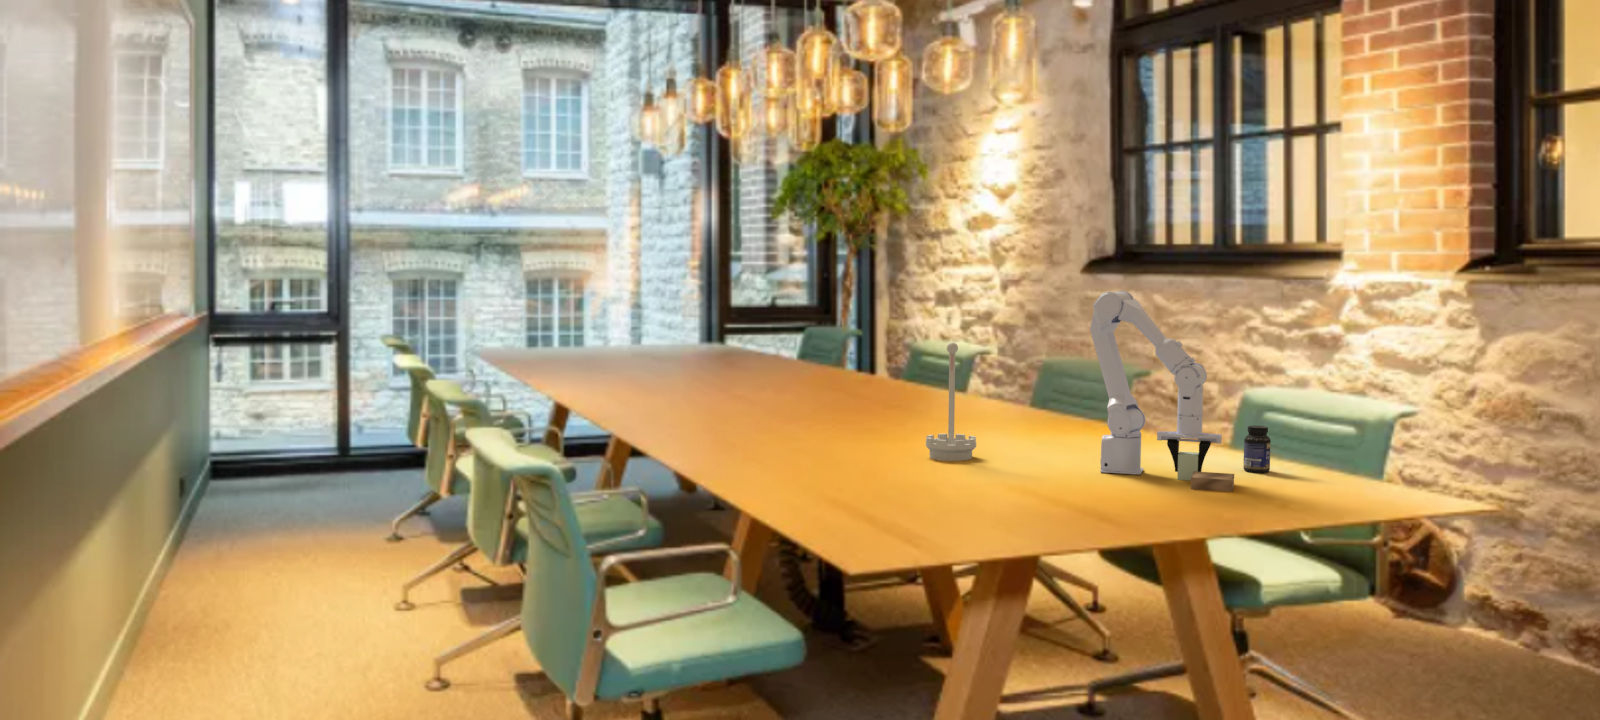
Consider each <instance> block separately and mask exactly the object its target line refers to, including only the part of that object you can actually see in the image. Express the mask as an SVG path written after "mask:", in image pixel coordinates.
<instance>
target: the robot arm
mask: <svg viewBox="0 0 1600 720" xmlns="http://www.w3.org/2000/svg"><path fill="white" fill-rule="evenodd" d="M1092 307H1093V313H1092V314H1093V315H1092V319H1091V322H1090V329H1089V330H1090V331H1089V332H1090V335H1091V338H1092V342H1093V345H1094V349H1095V353H1096V357H1097V359H1098V363H1099V367H1100V371H1101V374H1102V378H1103V380H1104V381H1103V382H1104V385H1105V388H1106V392H1107V395H1108V399H1109V400H1108V403H1107V407H1106V409H1107V410H1106V411H1107V427H1108V430H1109V431H1110V434H1103V435H1102V437H1101V446H1100V447H1101V448H1100V471H1099V472H1100V473H1106V474H1107V473H1108V474H1122V475H1123V474H1124V475H1126V474H1127V475H1138V476H1139V475H1142V473H1143V471H1144V467H1141V465H1142V464H1141V463H1142V462H1141V461H1142V460H1141V458H1142V457H1141V456H1142V455H1141V453H1142V433H1141V430H1142V429H1143V428H1144V426H1145V424H1146V415H1145V413H1144V412H1143V410H1142V409H1141V408H1140V407H1139V404H1138V402H1137V401H1138V400H1136V398H1135V397H1134V396H1133V394H1132V392H1131V390H1130V387H1129V383H1128V379H1127V375H1126V371H1125V369H1124V365H1123V362H1122V361H1123V360H1122V357H1121V354H1120V349H1119V347H1118V343H1117V339H1116V336H1115V331H1116V329H1117V328H1118V326H1119V325H1120V323H1121V321H1122V322H1127V323H1131V324H1133V325H1134V327H1136V328H1137V329H1138V331H1140V332H1141V334H1142V335H1143V336H1144V337H1145V338H1146V339H1147V340H1148V341H1150V343H1151V344H1152V345H1153V346H1154V348H1155V350H1154V351H1155V356H1156V357H1157V358H1158V360H1159V361H1160V362H1161V363H1162V364H1163V365H1164V366H1165V367H1166V369H1167V370H1168V371H1169V372H1170V373H1171V374H1172V375H1174V376H1173V377H1174V378H1173V379H1174V382H1175V384H1176V386H1177V387H1178V389H1177V390H1178V392H1177V413H1176V415H1177V416H1176V417H1177V418H1176V431H1162V430H1161V431H1160V430H1158V431H1156V432H1157V433H1156V441H1167V442H1166V445H1167V447H1168V450H1169V452H1170V455H1171V457H1172V462H1173V464H1174V465H1173V466H1174V472H1176V473H1178V454H1179V452H1180V442H1192V443H1198V453H1199V463H1198V472H1202V468H1203V464H1204V461H1205V458H1206V456H1207V453H1208V452H1209V449H1210V448H1211V445H1212V444H1213V443H1214V444H1220V445H1221V444H1222V437H1223V436H1222V435H1223V434H1222V433H1221V434H1219V433H1218V434H1216V433H1208V432H1203V416H1204V415H1203V413H1204V411H1203V410H1204V407H1203V406H1204V384H1205V383H1206V381H1207V378H1208V375H1207V371H1206V368H1204V365H1203V364H1201V363H1198V362H1196V359H1195V358H1194V357H1191V356H1190V355H1189V354H1188V353H1187V352H1186V350H1185V349H1184V348H1183V347H1182V346H1183V342H1181V341H1179V340H1178V341H1177V340H1176V339H1174V338H1167V337H1166V336H1165V334H1164V333H1163V332H1162V330H1161V329H1160V328H1159V327H1158V325H1157V324H1156V323H1155V321H1153V319H1152V318H1151V317H1150V315H1149V314H1148V313H1147V312H1146V310H1145V309H1144V308H1143V306H1142V305H1141V303H1140V302H1139V301H1138V300H1137V299H1136V298H1134V297H1133V295H1132V294H1131V293H1130V292H1128V291H1126V290H1118V291H1105V292H1103V293H1101V294H1100V295H1099V296H1098V297H1097V298H1096V300H1095V302H1094V303H1093V304H1092Z"/></svg>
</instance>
